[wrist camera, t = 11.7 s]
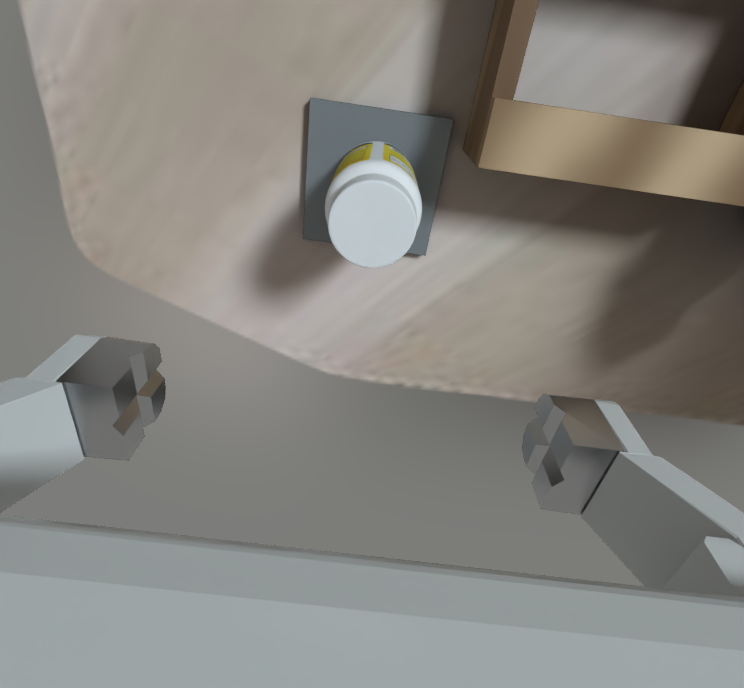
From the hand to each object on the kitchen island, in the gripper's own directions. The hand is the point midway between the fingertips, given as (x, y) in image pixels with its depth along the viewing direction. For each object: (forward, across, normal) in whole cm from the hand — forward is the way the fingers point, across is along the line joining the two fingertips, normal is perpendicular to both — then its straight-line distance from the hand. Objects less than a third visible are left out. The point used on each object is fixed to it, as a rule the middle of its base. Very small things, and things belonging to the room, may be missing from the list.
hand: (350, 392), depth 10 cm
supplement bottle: (+20, 0, 0) cm, 21 cm away
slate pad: (+21, 0, 0) cm, 21 cm away
